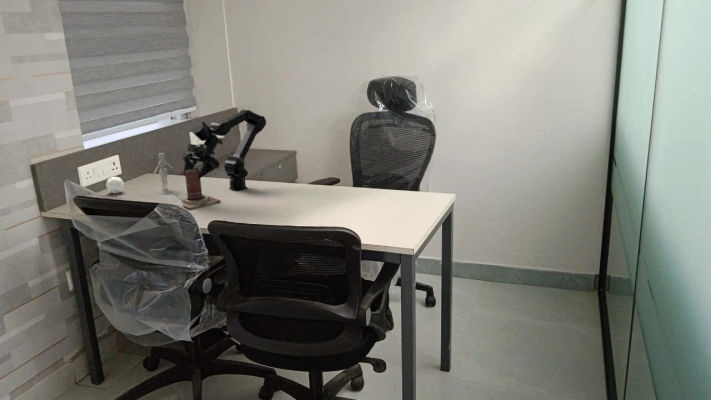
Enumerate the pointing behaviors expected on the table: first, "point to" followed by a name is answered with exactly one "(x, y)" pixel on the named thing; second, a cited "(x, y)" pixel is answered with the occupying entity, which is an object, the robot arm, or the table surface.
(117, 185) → the geometric ball
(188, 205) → the cup holder
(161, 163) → the human figurine
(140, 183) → the table surface
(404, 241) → the table surface
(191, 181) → the can
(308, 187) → the table surface
